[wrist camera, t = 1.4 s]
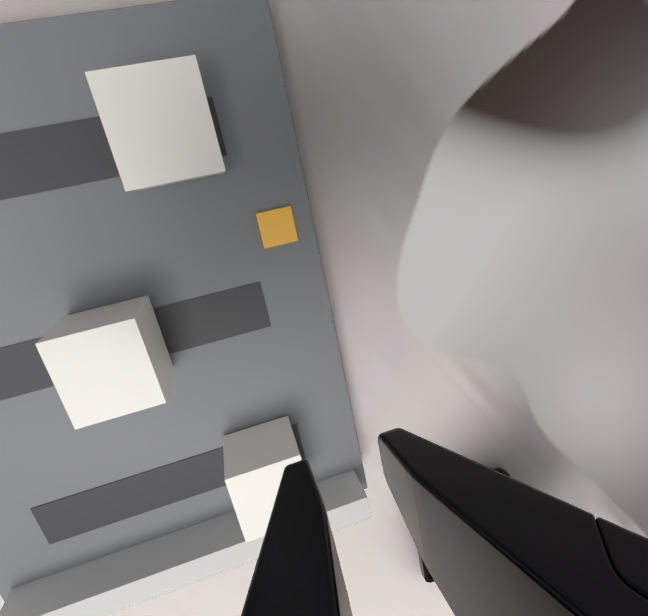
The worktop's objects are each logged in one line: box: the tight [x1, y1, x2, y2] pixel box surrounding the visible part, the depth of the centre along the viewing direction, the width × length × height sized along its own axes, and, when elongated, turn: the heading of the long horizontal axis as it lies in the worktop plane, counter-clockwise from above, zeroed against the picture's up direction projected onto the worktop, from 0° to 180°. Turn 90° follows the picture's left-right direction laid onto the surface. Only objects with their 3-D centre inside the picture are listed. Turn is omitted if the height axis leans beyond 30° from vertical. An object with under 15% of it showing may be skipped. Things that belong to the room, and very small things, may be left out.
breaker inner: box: [223, 416, 301, 542], centre depth 18 cm, size 3×3×3 cm
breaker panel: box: [0, 0, 371, 616], centre depth 17 cm, size 22×17×4 cm
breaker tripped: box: [35, 295, 174, 430], centre depth 15 cm, size 3×3×3 cm
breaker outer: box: [85, 55, 226, 192], centre depth 14 cm, size 3×3×3 cm
